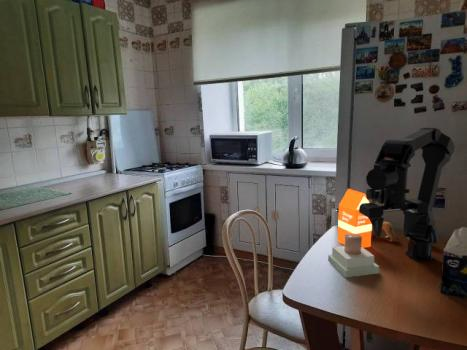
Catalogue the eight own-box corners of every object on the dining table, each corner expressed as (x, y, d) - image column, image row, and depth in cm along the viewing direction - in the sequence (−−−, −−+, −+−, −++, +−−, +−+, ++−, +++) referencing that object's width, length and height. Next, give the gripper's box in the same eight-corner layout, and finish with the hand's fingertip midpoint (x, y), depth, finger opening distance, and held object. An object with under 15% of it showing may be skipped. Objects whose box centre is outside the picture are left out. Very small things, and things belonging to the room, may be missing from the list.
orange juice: (353, 250, 118) (356, 195, 114) (337, 241, 126) (339, 189, 122) (371, 246, 121) (374, 192, 117) (353, 237, 129) (356, 187, 125)
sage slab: (358, 259, 112) (359, 251, 112) (378, 275, 102) (379, 266, 101) (328, 263, 110) (328, 255, 110) (345, 280, 100) (345, 270, 99)
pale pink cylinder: (355, 247, 108) (356, 232, 107) (364, 253, 103) (365, 238, 102) (341, 248, 107) (341, 234, 106) (349, 255, 102) (349, 240, 101)
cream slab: (357, 252, 111) (358, 244, 110) (373, 265, 102) (374, 255, 101) (332, 255, 109) (332, 247, 108) (346, 268, 100) (346, 259, 100)
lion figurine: (356, 235, 131) (357, 213, 129) (360, 231, 135) (361, 209, 133) (397, 243, 122) (399, 220, 121) (400, 238, 127) (402, 216, 125)
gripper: (404, 176, 105) (401, 224, 108) (350, 180, 101) (348, 229, 104) (432, 184, 94) (427, 236, 97) (372, 189, 91) (369, 243, 94)
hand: (391, 236), depth 98 cm, fingers open, 9 cm apart
